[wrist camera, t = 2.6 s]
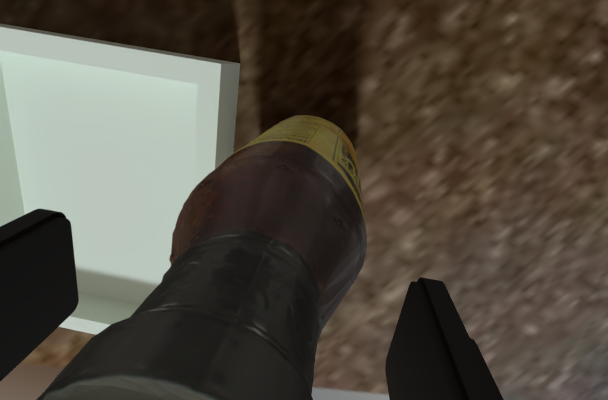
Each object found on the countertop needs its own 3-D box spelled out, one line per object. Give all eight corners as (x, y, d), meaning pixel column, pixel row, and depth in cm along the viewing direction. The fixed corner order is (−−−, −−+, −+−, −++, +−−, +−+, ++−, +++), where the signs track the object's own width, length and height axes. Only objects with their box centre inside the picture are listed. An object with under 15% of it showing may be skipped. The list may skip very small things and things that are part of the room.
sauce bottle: (344, 213, 24) (331, 689, 6) (255, 193, 25) (-27, 591, 6) (369, 117, 22) (483, 423, 3) (270, 96, 22) (-125, 273, 4)
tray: (240, 63, 22) (221, 63, 18) (219, 324, 29) (203, 357, 26) (-9, 21, 22) (-70, 15, 19) (33, 285, 30) (-5, 313, 27)
